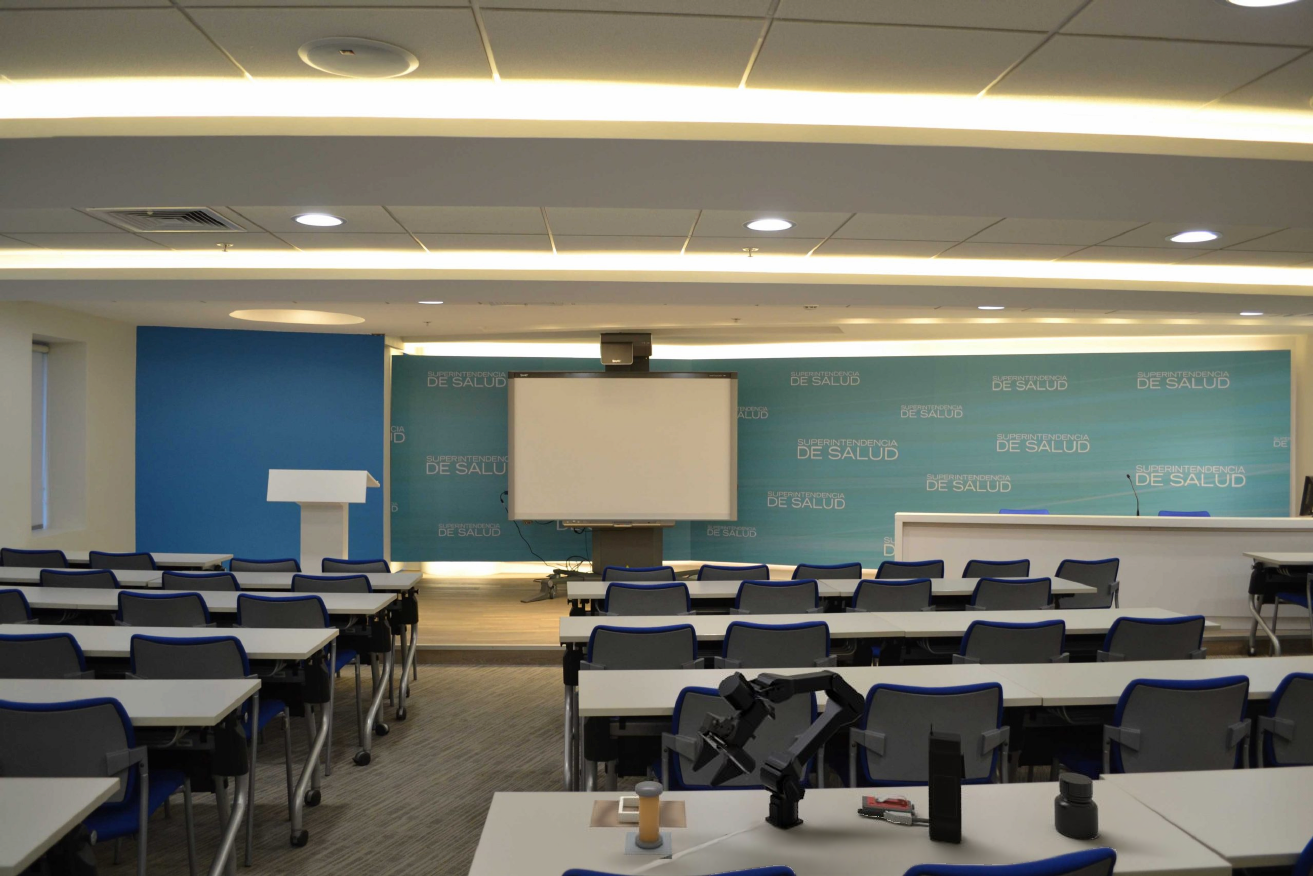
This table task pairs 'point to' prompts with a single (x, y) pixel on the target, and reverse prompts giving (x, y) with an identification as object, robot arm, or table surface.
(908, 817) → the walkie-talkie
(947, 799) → the portable radio
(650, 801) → the orange cylinder grey ends
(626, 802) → the white square frame
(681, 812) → the walnut board
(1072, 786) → the ink bottle
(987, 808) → the table surface
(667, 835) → the grey mat
